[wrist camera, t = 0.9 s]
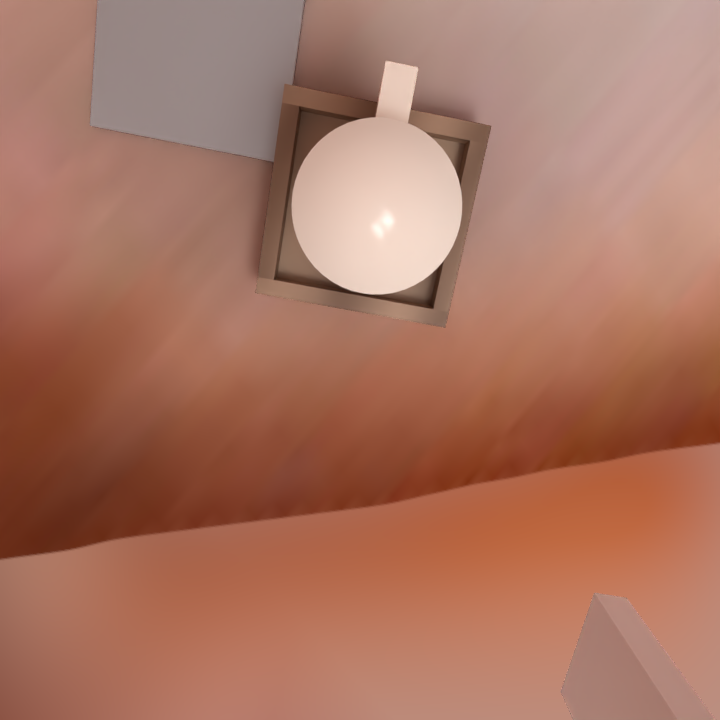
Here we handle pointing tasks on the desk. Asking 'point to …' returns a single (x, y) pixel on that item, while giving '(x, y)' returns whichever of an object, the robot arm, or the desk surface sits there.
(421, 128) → the holder
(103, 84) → the mat
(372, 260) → the white rounded piece
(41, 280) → the desk surface
